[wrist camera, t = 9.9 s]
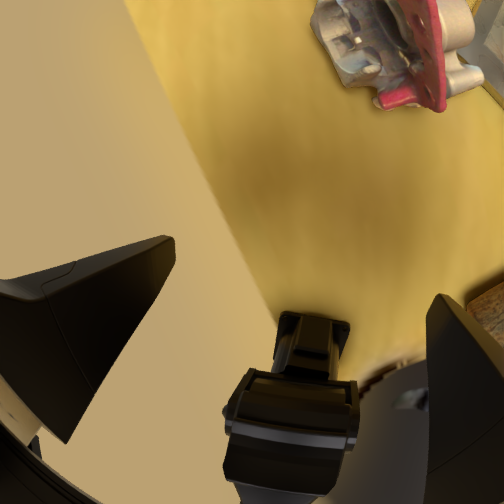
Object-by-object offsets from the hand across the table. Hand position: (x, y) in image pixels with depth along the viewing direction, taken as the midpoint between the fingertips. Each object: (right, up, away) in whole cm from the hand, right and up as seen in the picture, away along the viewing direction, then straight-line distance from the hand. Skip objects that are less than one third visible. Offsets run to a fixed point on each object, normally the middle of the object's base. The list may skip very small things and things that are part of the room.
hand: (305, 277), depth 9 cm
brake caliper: (+8, +15, +5) cm, 18 cm away
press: (+17, +19, 0) cm, 25 cm away
